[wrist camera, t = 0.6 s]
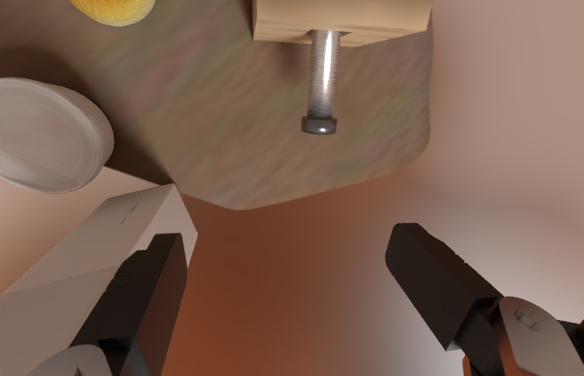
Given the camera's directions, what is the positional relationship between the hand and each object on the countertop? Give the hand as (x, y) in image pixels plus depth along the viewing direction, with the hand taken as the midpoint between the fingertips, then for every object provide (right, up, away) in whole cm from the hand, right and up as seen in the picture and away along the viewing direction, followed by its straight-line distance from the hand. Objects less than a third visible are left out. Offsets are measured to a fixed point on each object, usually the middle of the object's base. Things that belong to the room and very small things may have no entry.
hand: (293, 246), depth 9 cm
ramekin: (-25, +9, +19) cm, 33 cm away
